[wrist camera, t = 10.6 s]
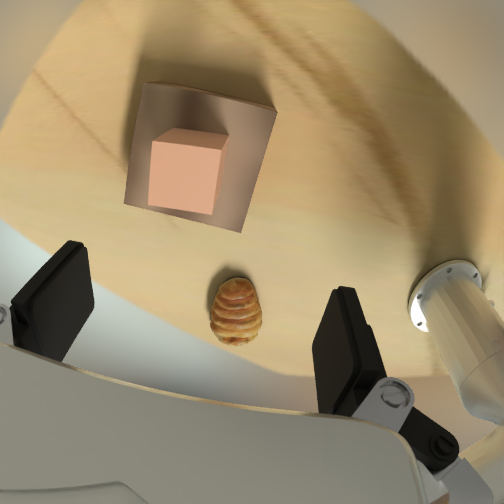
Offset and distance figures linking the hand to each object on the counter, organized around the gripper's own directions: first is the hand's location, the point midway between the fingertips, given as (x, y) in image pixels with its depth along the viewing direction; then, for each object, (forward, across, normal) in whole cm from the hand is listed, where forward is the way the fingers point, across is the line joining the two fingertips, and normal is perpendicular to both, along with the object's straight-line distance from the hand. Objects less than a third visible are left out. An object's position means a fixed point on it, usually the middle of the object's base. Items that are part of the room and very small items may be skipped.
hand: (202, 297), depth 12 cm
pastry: (+24, -2, +20) cm, 32 cm away
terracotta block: (+19, +4, 0) cm, 19 cm away
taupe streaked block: (+24, +5, 0) cm, 24 cm away
